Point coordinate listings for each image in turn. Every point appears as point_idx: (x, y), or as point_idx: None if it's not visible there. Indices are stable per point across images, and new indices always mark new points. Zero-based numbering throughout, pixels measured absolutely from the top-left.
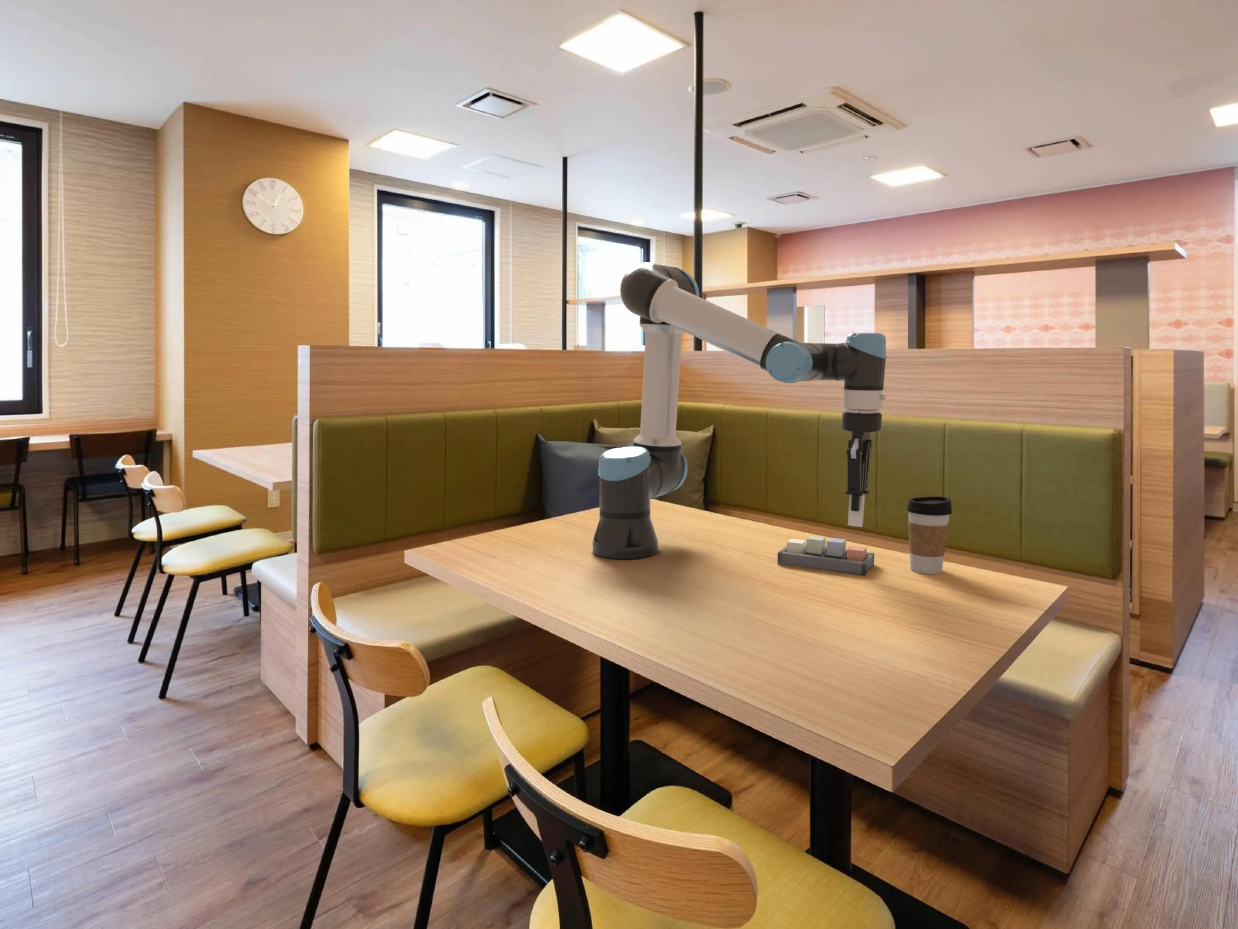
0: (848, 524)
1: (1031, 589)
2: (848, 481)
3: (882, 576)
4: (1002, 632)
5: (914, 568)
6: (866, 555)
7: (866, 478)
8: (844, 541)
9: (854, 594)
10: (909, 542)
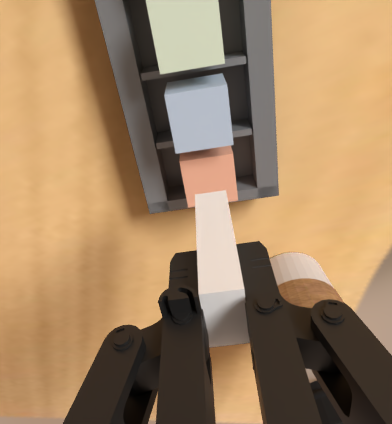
0: (196, 198)
1: (259, 403)
2: (72, 414)
3: (180, 226)
4: (32, 407)
5: None
6: (256, 179)
7: (341, 417)
8: (208, 147)
9: (4, 223)
10: (289, 300)
